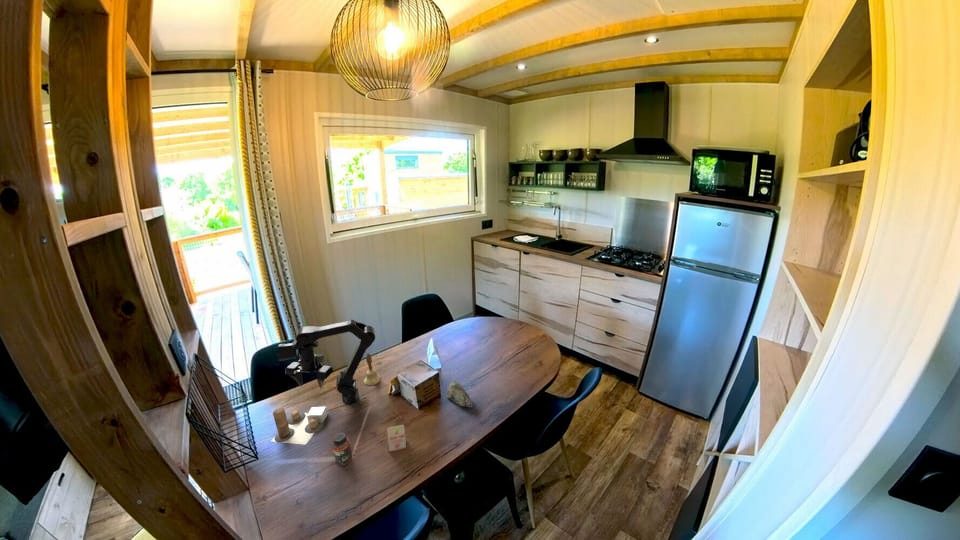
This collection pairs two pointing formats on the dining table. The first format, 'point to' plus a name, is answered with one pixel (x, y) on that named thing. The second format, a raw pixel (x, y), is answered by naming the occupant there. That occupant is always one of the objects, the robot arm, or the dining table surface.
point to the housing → (317, 414)
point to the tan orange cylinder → (281, 423)
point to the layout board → (300, 428)
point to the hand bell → (371, 373)
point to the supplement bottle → (341, 449)
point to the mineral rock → (458, 394)
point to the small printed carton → (396, 438)
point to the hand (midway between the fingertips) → (311, 386)
